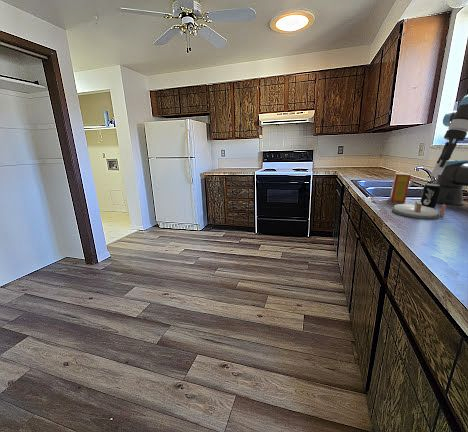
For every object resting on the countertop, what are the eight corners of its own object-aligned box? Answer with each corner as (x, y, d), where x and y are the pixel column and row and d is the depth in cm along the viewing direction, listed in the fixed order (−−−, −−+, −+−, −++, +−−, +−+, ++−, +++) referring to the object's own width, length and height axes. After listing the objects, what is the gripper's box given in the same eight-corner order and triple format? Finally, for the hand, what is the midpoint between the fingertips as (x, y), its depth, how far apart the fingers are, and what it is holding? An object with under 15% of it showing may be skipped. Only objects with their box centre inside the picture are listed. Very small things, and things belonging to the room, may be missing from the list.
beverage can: (437, 209, 123) (444, 185, 119) (423, 208, 124) (428, 185, 120) (430, 206, 129) (436, 183, 125) (416, 205, 130) (421, 183, 127)
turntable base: (391, 206, 127) (393, 196, 126) (438, 212, 118) (441, 201, 116) (392, 215, 112) (395, 203, 111) (447, 222, 103) (450, 209, 102)
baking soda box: (404, 203, 135) (410, 174, 130) (390, 201, 138) (396, 173, 133) (402, 199, 143) (408, 172, 138) (389, 198, 146) (395, 171, 141)
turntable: (392, 205, 126) (395, 194, 125) (434, 209, 118) (436, 198, 117) (394, 213, 112) (396, 201, 111) (441, 218, 104) (444, 206, 103)
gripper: (443, 135, 125) (423, 175, 130) (452, 122, 104) (429, 171, 110) (461, 138, 121) (440, 179, 127) (474, 126, 100) (449, 175, 106)
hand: (435, 175), depth 118 cm, fingers open, 13 cm apart
